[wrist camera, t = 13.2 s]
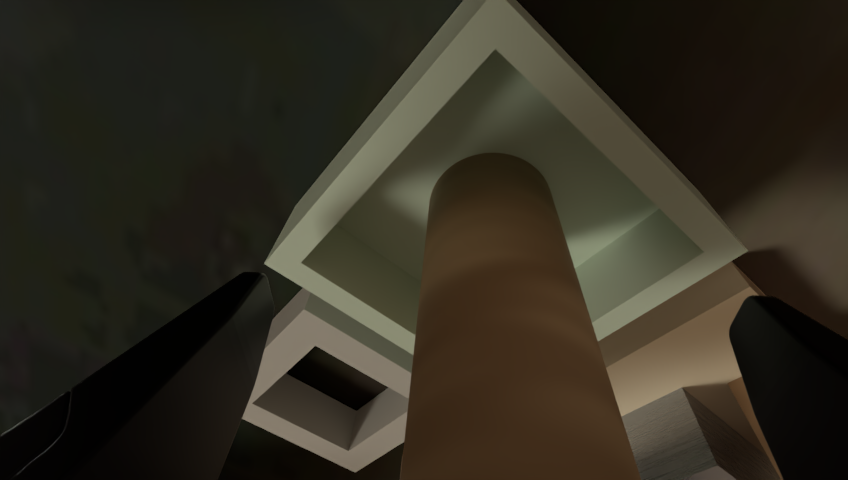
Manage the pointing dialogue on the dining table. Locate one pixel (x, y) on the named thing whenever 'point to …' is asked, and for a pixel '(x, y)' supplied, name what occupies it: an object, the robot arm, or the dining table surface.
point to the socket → (315, 411)
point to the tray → (510, 134)
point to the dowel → (506, 341)
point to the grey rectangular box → (691, 443)
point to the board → (687, 353)
